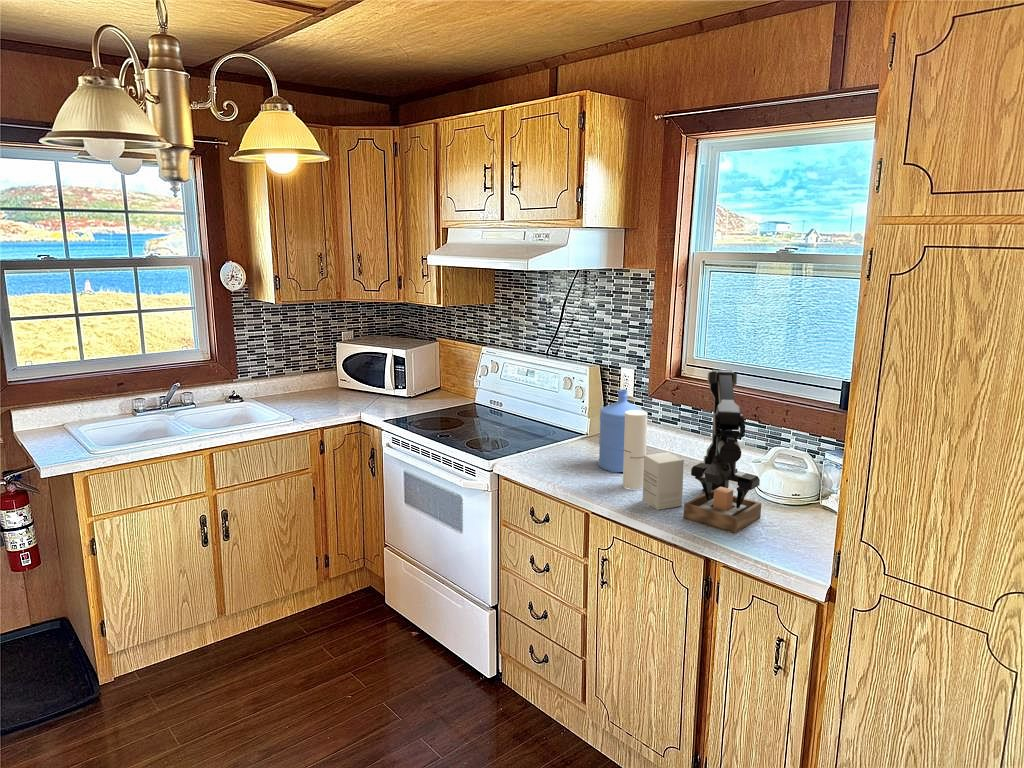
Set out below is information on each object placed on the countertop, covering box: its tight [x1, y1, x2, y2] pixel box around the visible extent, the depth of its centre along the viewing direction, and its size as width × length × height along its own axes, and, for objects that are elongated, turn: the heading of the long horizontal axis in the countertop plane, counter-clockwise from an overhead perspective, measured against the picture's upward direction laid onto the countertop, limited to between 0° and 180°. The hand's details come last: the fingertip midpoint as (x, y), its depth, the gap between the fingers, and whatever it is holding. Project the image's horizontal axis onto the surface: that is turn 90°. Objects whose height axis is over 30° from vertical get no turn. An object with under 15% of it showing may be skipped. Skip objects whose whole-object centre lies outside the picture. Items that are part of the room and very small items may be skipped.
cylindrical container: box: [622, 410, 648, 490], centre depth 227 cm, size 7×7×25 cm
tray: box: [683, 490, 762, 535], centre depth 202 cm, size 16×16×4 cm
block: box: [713, 487, 734, 511], centre depth 202 cm, size 4×4×8 cm
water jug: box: [598, 389, 644, 473], centre depth 247 cm, size 16×16×28 cm
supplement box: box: [642, 451, 685, 511], centre depth 213 cm, size 9×9×15 cm
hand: (722, 503), depth 202 cm, fingers open, 9 cm apart
